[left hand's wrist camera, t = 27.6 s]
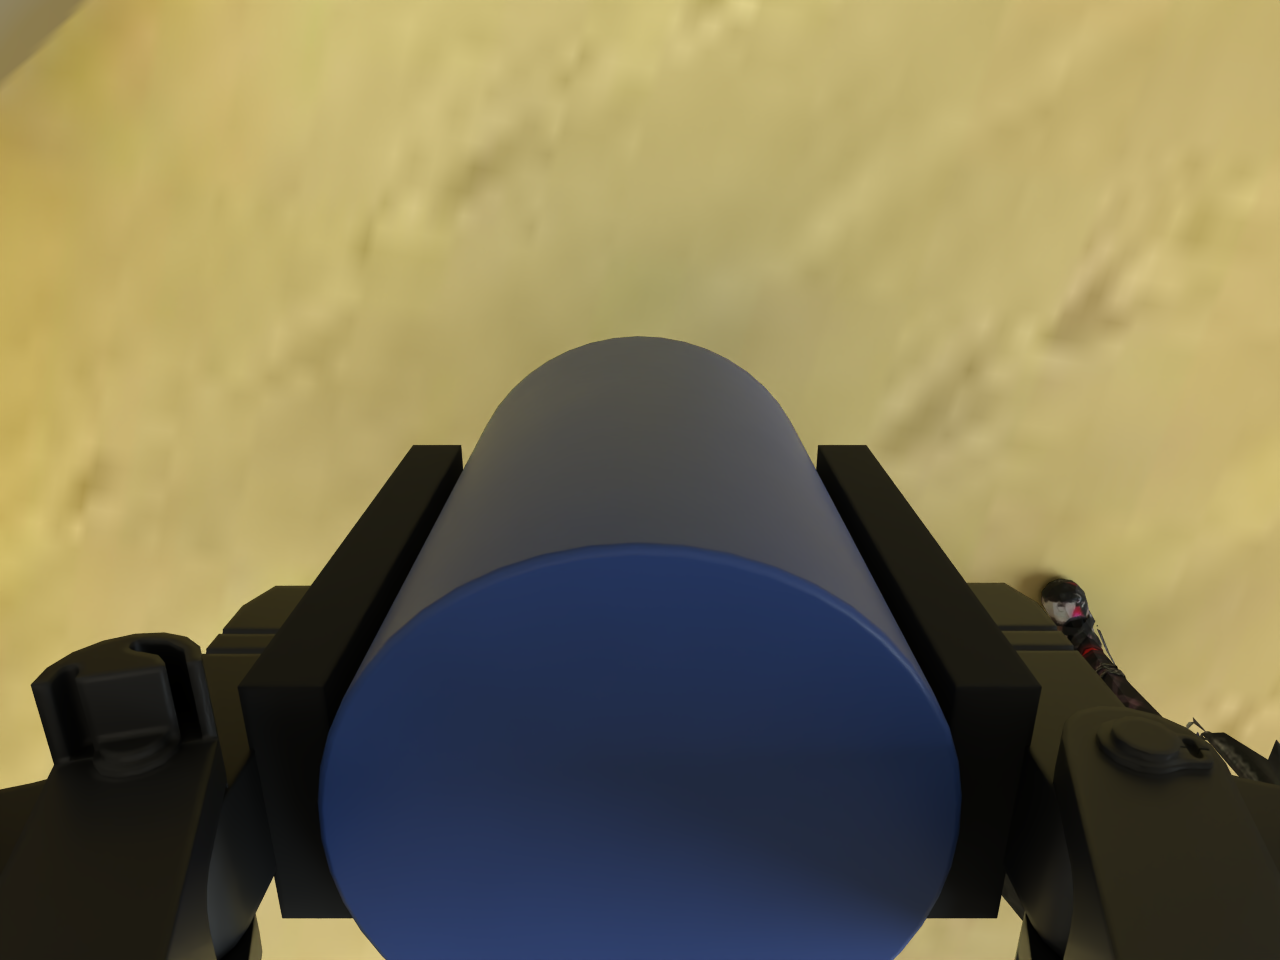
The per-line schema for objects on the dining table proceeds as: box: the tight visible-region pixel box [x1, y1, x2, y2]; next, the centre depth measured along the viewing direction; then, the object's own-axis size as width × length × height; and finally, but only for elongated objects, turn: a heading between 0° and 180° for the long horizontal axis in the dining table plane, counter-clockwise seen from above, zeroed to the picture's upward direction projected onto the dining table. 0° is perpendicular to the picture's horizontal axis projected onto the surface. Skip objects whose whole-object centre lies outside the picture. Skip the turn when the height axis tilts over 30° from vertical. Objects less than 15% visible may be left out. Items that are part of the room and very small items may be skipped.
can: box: [318, 336, 962, 960], centre depth 11 cm, size 6×6×8 cm
